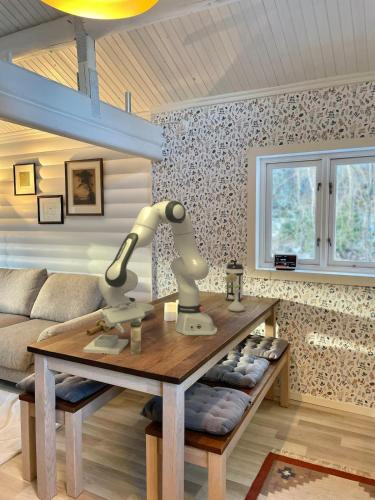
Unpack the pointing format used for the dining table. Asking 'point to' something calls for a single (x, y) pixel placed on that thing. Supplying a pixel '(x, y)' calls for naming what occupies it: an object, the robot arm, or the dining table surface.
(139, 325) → the peg
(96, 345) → the holder
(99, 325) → the kendama
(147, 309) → the soup bowl
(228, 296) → the coffee press
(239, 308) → the flower in vase
